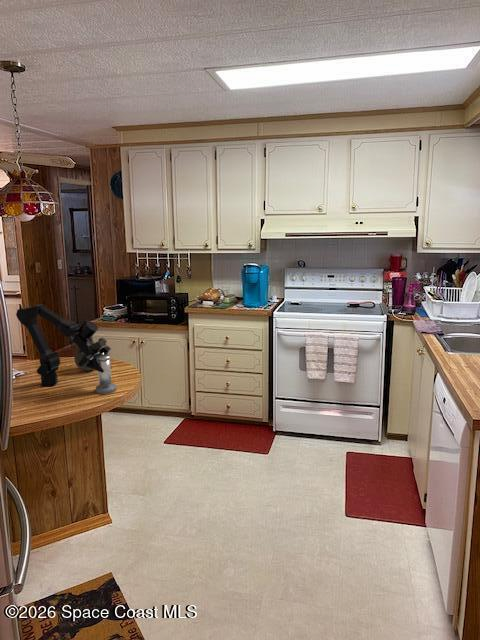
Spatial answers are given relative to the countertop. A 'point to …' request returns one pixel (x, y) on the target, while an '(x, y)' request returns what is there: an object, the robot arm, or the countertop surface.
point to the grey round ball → (78, 357)
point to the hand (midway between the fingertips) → (107, 369)
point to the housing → (105, 364)
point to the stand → (106, 389)
